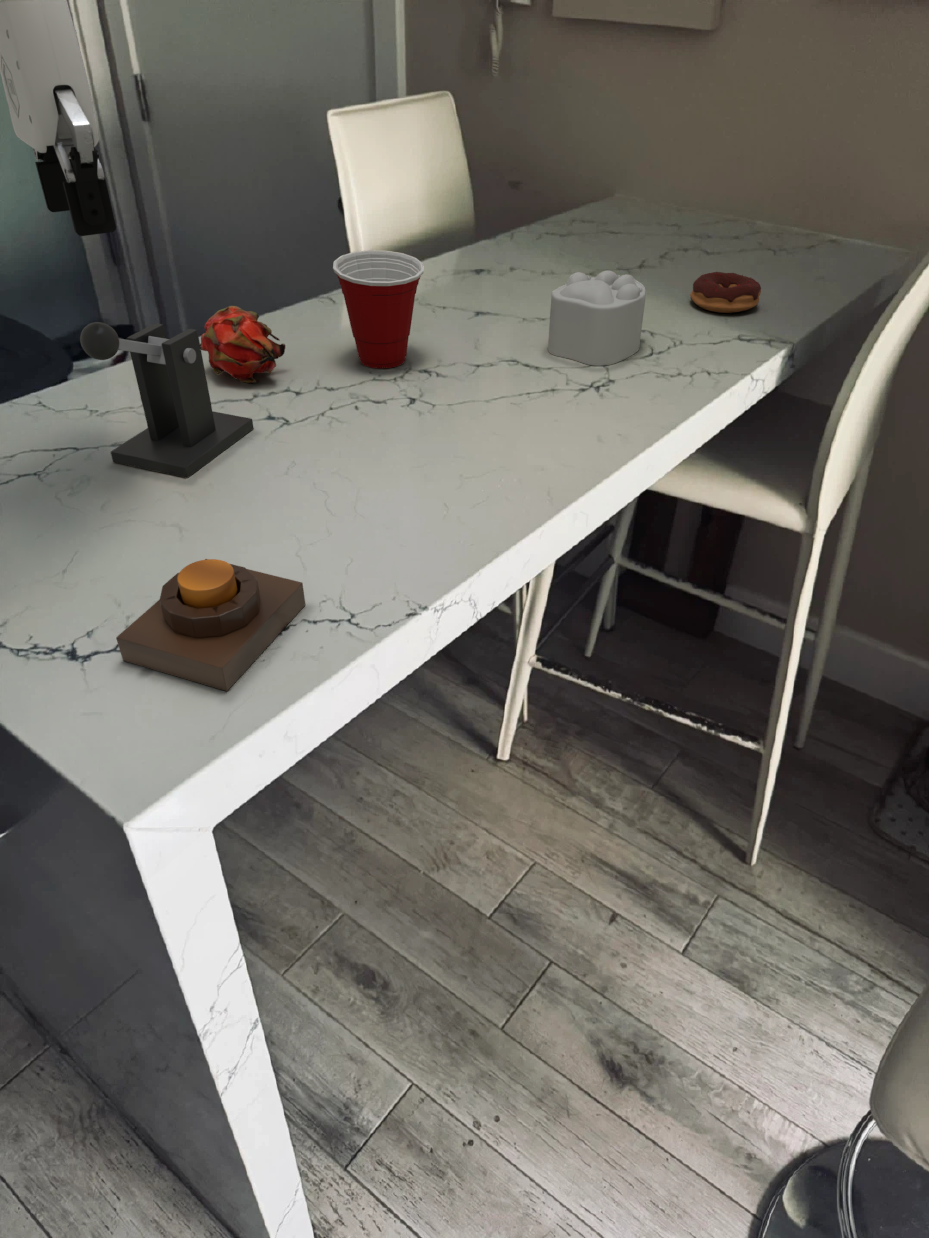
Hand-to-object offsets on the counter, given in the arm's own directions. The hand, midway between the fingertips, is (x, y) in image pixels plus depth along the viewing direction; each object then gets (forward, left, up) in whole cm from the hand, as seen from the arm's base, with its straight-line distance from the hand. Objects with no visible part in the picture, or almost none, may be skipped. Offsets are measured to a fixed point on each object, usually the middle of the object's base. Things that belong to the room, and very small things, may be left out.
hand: (81, 221), depth 75 cm
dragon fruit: (+20, +11, -23) cm, 32 cm away
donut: (+85, -14, -23) cm, 89 cm away
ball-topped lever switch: (0, -3, -12) cm, 12 cm away
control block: (-9, -31, -23) cm, 39 cm away
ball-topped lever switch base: (+5, -1, -23) cm, 23 cm away
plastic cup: (+35, +3, -23) cm, 42 cm away
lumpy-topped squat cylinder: (+59, -12, -23) cm, 64 cm away
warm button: (-9, -31, -19) cm, 37 cm away
